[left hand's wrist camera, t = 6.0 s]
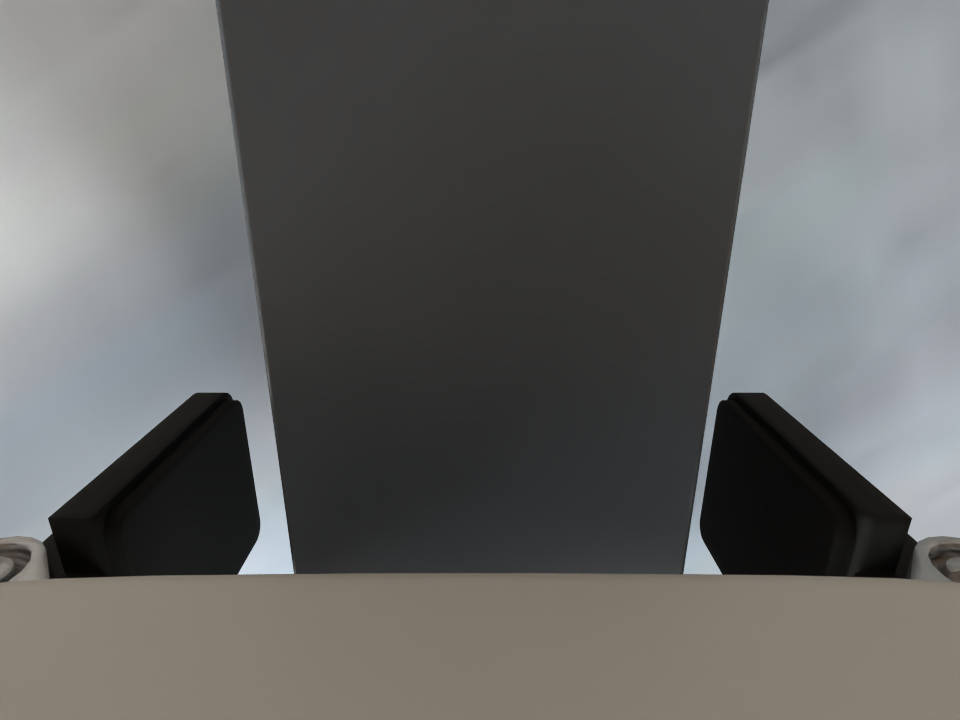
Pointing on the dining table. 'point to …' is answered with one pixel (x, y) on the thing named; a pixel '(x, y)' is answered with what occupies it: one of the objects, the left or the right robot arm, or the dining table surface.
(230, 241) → the dining table surface
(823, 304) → the dining table surface
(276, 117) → the beam
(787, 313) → the dining table surface
